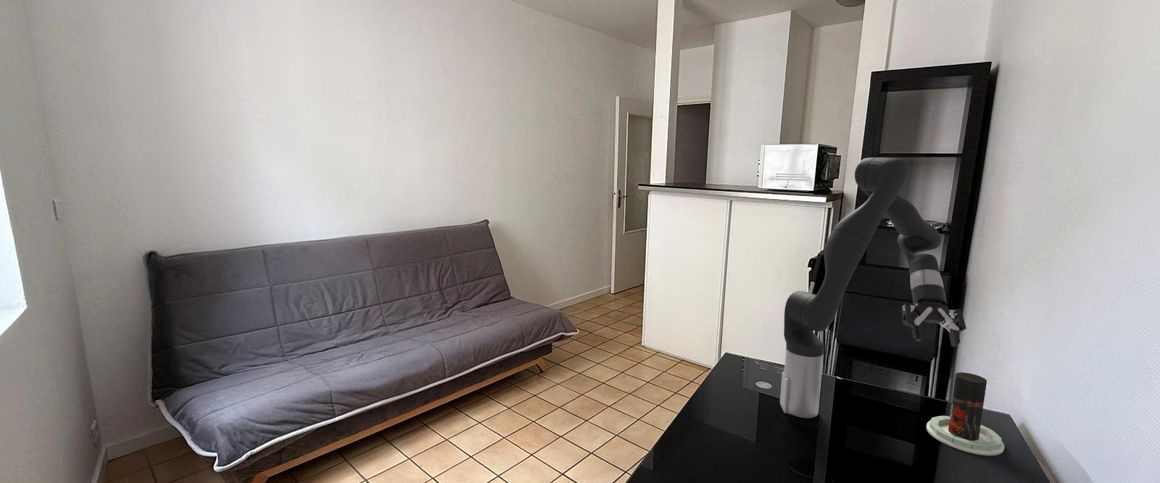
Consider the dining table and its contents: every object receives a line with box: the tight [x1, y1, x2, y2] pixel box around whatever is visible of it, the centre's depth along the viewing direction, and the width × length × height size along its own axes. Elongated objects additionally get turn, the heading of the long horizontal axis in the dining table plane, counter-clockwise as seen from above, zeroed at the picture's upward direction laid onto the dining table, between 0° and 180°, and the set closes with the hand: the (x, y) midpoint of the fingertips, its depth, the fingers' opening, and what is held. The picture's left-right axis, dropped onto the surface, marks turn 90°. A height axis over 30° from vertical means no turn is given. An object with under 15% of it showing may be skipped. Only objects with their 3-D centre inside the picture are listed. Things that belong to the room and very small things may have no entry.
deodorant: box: [948, 371, 988, 441], centre depth 115 cm, size 6×6×15 cm
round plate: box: [926, 415, 1005, 457], centre depth 116 cm, size 15×15×2 cm
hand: (937, 342), depth 125 cm, fingers open, 8 cm apart
